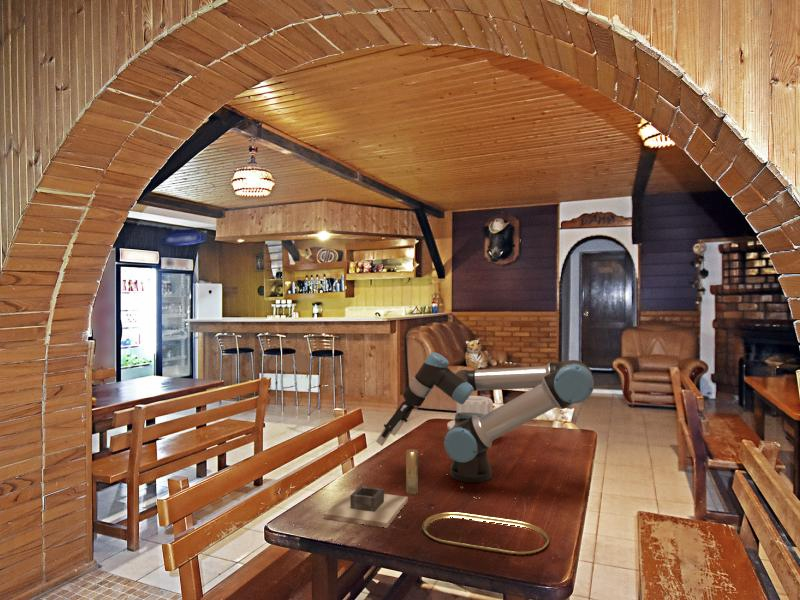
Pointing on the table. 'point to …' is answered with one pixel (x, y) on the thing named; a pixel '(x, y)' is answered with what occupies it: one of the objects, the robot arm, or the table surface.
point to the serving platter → (487, 519)
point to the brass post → (412, 471)
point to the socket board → (367, 507)
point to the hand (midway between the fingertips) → (385, 438)
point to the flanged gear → (473, 407)
